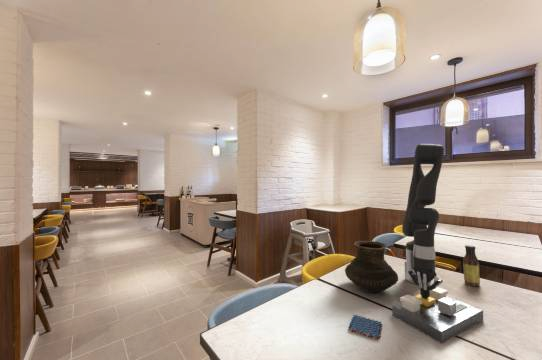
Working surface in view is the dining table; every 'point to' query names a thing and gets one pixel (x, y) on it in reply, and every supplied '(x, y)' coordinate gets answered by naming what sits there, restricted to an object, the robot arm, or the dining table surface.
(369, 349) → the dining table surface
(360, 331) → the woven mat
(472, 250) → the sauce bottle
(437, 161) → the robot arm
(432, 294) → the button right
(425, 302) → the button mid
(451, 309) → the brushed metal cube
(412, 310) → the button left
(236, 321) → the dining table surface
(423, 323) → the panel
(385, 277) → the ceramic pot
